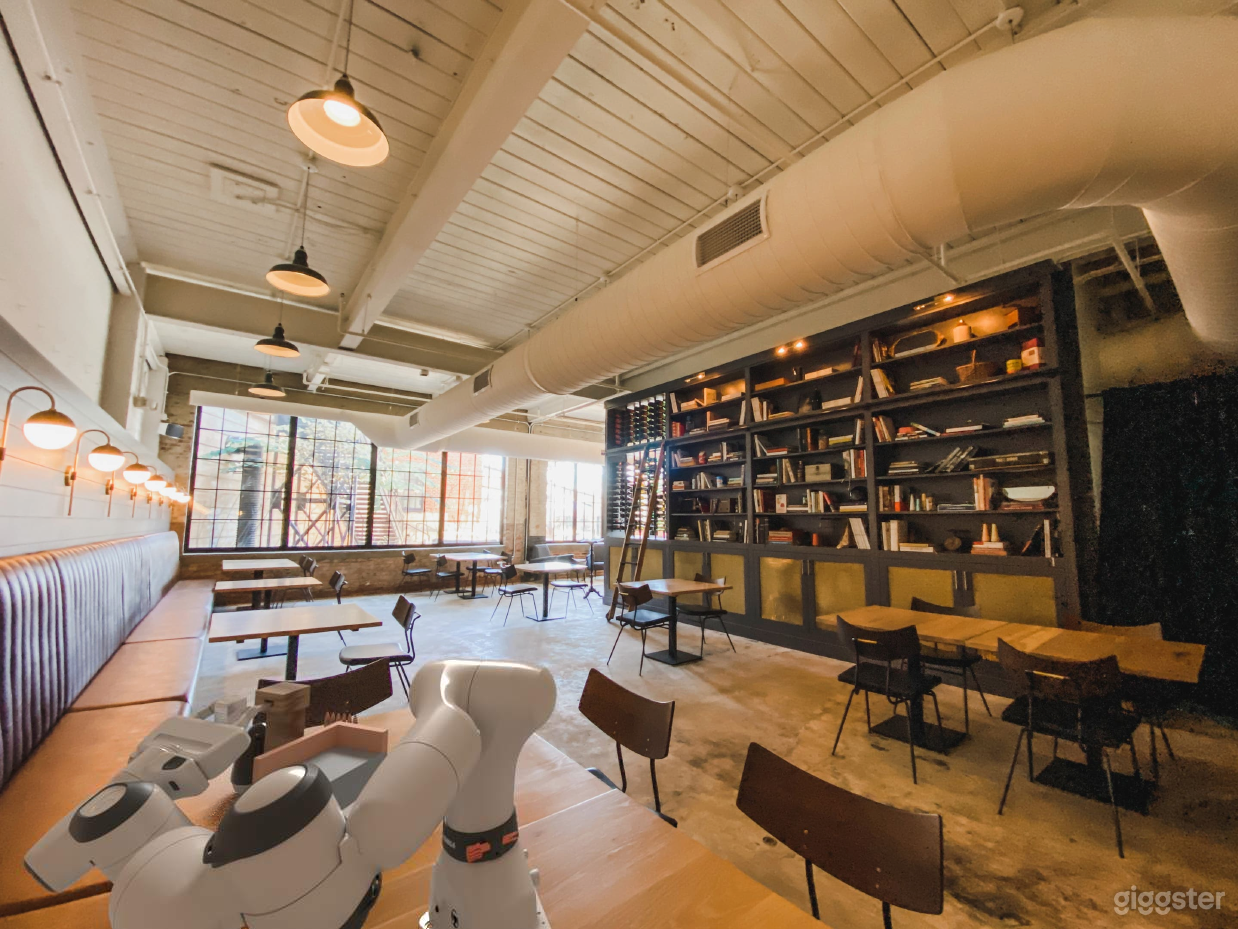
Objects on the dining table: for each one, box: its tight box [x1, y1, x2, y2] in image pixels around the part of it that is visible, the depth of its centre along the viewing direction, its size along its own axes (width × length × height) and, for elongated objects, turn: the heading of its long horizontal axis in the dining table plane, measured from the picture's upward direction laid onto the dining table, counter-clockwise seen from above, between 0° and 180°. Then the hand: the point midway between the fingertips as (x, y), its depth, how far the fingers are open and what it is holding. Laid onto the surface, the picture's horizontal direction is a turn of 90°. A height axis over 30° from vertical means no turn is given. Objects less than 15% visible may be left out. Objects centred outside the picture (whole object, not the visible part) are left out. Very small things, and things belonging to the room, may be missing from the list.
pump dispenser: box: [229, 721, 266, 795], centre depth 120 cm, size 10×10×15 cm
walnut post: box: [253, 681, 311, 753], centre depth 105 cm, size 8×12×29 cm, turn 70°
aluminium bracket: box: [213, 694, 274, 725], centre depth 101 cm, size 14×4×4 cm, turn 160°
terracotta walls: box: [252, 721, 389, 782], centre depth 98 cm, size 18×14×4 cm
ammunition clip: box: [323, 711, 359, 728], centre depth 135 cm, size 11×2×12 cm, turn 77°
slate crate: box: [252, 745, 388, 810], centre depth 97 cm, size 18×14×16 cm
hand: (236, 706), depth 97 cm, fingers open, 8 cm apart
